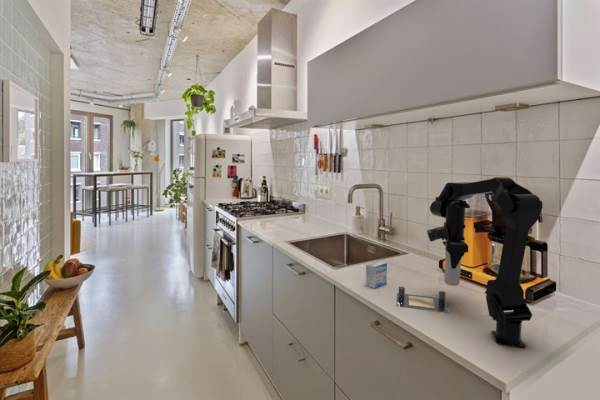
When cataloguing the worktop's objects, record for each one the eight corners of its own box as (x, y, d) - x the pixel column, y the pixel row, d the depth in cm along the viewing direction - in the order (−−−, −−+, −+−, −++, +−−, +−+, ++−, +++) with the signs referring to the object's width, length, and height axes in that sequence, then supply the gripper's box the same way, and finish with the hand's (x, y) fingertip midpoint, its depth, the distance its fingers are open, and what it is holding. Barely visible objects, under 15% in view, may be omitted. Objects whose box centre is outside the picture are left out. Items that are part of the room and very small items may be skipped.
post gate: (448, 314, 105) (449, 299, 104) (396, 308, 110) (396, 293, 109) (444, 299, 116) (444, 286, 116) (397, 294, 121) (397, 281, 120)
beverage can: (450, 286, 108) (452, 251, 107) (440, 281, 113) (442, 247, 112) (462, 285, 110) (464, 250, 108) (452, 280, 114) (454, 246, 113)
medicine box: (374, 289, 125) (375, 266, 124) (365, 285, 128) (365, 264, 127) (386, 284, 130) (387, 262, 129) (377, 281, 133) (378, 260, 132)
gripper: (427, 214, 120) (425, 256, 122) (430, 223, 103) (428, 272, 104) (461, 216, 117) (458, 259, 118) (470, 225, 99) (467, 276, 101)
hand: (452, 266), depth 111 cm, fingers closed on beverage can, 5 cm apart
